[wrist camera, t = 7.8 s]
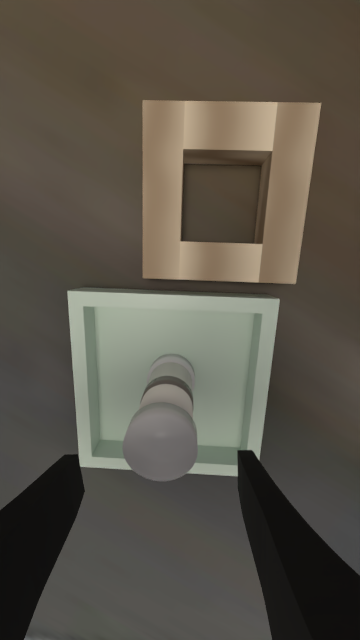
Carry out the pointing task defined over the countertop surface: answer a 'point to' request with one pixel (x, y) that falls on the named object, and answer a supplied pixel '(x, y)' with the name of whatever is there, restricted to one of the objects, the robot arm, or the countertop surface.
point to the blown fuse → (164, 422)
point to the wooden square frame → (227, 149)
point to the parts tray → (171, 338)
